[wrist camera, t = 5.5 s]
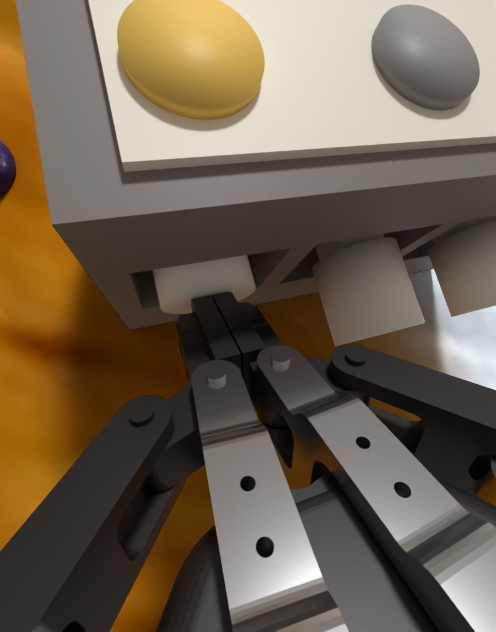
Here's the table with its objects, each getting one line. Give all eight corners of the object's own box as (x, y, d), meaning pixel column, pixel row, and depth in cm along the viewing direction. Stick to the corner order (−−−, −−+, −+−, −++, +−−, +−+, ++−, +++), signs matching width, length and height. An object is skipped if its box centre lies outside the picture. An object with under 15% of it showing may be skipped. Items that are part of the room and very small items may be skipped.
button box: (129, 330, 17) (39, 207, 6) (100, 179, 18) (-19, -162, 7) (431, 269, 22) (703, 141, 11) (390, 155, 24) (590, -63, 12)
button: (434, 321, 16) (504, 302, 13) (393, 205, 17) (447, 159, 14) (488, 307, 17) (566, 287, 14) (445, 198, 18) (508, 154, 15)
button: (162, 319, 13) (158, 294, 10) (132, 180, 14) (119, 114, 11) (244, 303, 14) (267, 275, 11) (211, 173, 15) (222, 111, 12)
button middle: (320, 350, 15) (365, 337, 11) (282, 219, 16) (313, 172, 12) (386, 333, 16) (447, 317, 12) (346, 211, 17) (392, 165, 13)
